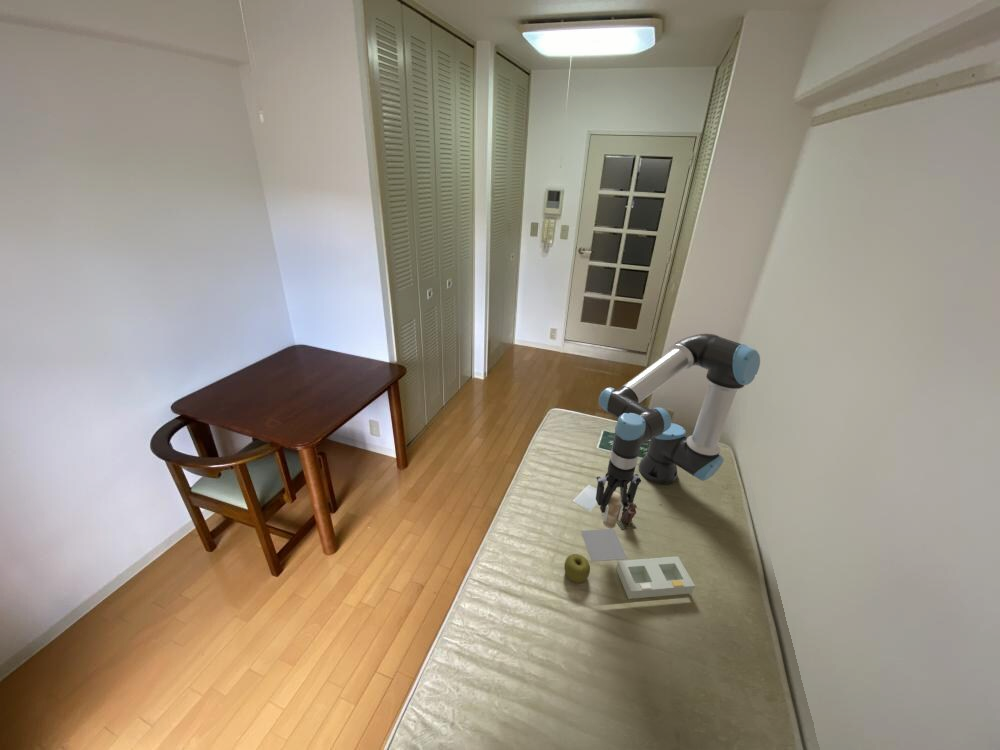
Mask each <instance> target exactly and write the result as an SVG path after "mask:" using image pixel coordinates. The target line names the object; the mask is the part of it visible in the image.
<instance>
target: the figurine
mask: <svg viewBox="0 0 1000 750" xmlns="http://www.w3.org/2000/svg"><path fill="white" fill-rule="evenodd" d="M634 501H635V499H634V500H633V502H632V503H630V502H629V503H627V504H628V506H627V507H625V510H624V511H622V514H621V519H620V520H617V521H616V525H617V526H618V528H620V530H621V531H627V530H632V529H636V528H637V527H636V525H635V524H634V522H633V519H634V517H635V515H636V514H637V510H636V509H638V507H637V506H638V505H637V503H634Z"/></svg>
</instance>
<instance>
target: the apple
mask: <svg viewBox="0 0 1000 750" xmlns="http://www.w3.org/2000/svg"><path fill="white" fill-rule="evenodd" d="M564 571H565V572H564V573H565V576H566V577H567V578H568V579H569V581H571V582H573V583H575V584H579V583H583V582H585V581H586V580H587V579H588V578H589V575H590V572H591V565H590V563H589V561H588V559H587V558H586V557H585V556H583V555H581V554H578V553H572V554H570V555H568V556H567V557H566V558H565V562H564Z"/></svg>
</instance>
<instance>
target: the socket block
mask: <svg viewBox="0 0 1000 750" xmlns="http://www.w3.org/2000/svg"><path fill="white" fill-rule="evenodd" d="M615 569H616V572H617V574H618V577H619V580H620V582H621V584H622V586H623V588H624V592H625V594H626V596H627V598H628V599H627V600H629V599H631V600H632V599H642V598H643V599H644V598H651V597H653V598H654V597H665V596H676V595H688V594H689V596H692V594H693V592H694V590H695V587H696V585H695V583H694V582H693V580H692V578H691V577H690V574H689V573H688V570H686V568H685V566H684V564H683V563H682V561H681V559H680V557H679V556H677V555H676V556H665V557H664V556H663V557H654V558H653V557H652V558H651V557H650V558H640V559H639V558H638V559H622V560H618V561H617V564H616V566H615Z"/></svg>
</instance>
